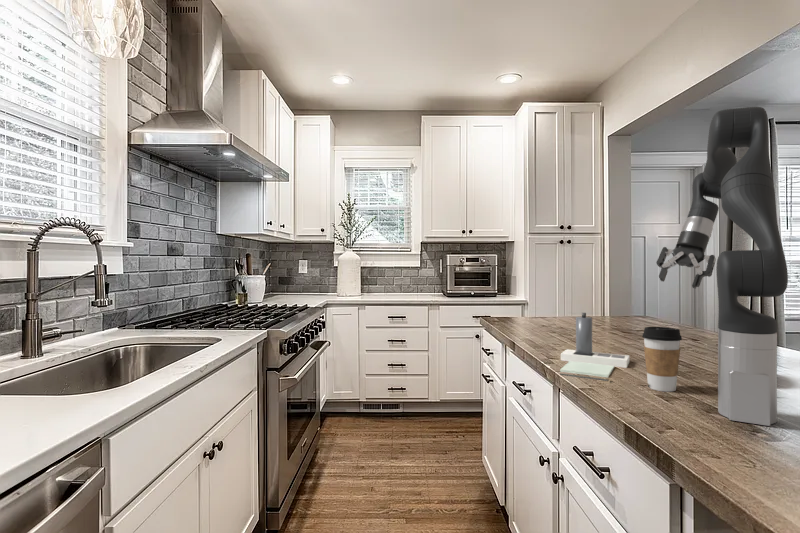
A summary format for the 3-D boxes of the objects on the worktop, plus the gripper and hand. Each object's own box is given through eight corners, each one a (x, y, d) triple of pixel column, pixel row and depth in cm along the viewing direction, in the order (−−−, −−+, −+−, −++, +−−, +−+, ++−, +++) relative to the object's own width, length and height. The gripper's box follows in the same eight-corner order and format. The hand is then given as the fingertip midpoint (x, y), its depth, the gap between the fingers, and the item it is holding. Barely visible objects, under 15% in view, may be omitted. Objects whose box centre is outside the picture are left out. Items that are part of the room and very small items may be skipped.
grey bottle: (590, 362, 130) (590, 314, 130) (574, 360, 133) (574, 313, 133) (593, 359, 134) (593, 312, 134) (577, 357, 137) (577, 311, 137)
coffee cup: (648, 392, 104) (648, 329, 104) (637, 382, 112) (637, 324, 112) (688, 394, 102) (687, 330, 102) (674, 384, 110) (674, 325, 110)
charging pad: (608, 381, 114) (608, 375, 114) (560, 375, 120) (560, 369, 120) (614, 371, 124) (614, 366, 124) (569, 366, 130) (569, 361, 130)
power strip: (651, 373, 120) (650, 362, 120) (560, 363, 133) (560, 353, 133) (652, 367, 127) (652, 356, 127) (566, 358, 140) (566, 348, 140)
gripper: (666, 226, 134) (648, 274, 133) (721, 233, 124) (703, 286, 122) (671, 235, 139) (654, 282, 138) (725, 243, 129) (707, 293, 128)
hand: (677, 284), depth 130 cm, fingers open, 8 cm apart
